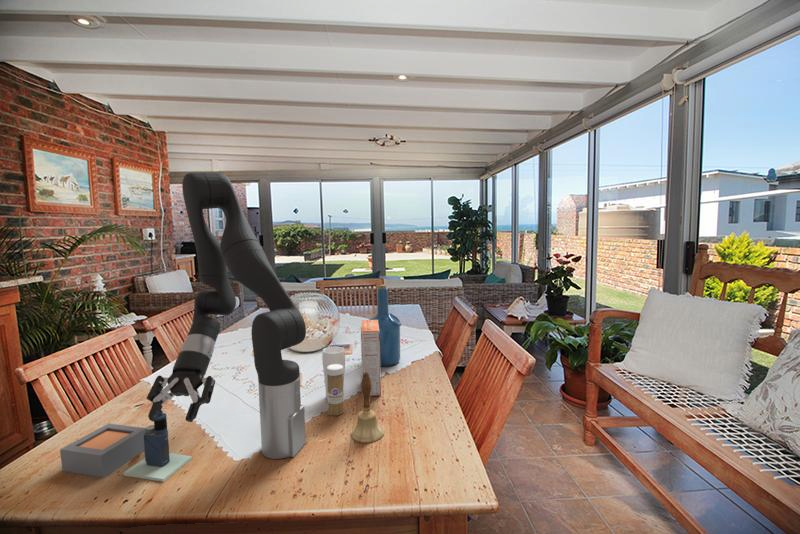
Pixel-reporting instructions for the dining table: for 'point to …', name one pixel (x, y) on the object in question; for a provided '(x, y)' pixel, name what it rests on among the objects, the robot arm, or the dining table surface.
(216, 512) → the dining table surface
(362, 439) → the hand bell
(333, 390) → the sprinkles bottle
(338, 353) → the drinking glass
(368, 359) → the cracker box
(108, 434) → the button
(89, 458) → the box
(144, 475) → the pad
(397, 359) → the wine bottle
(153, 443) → the vaping device
